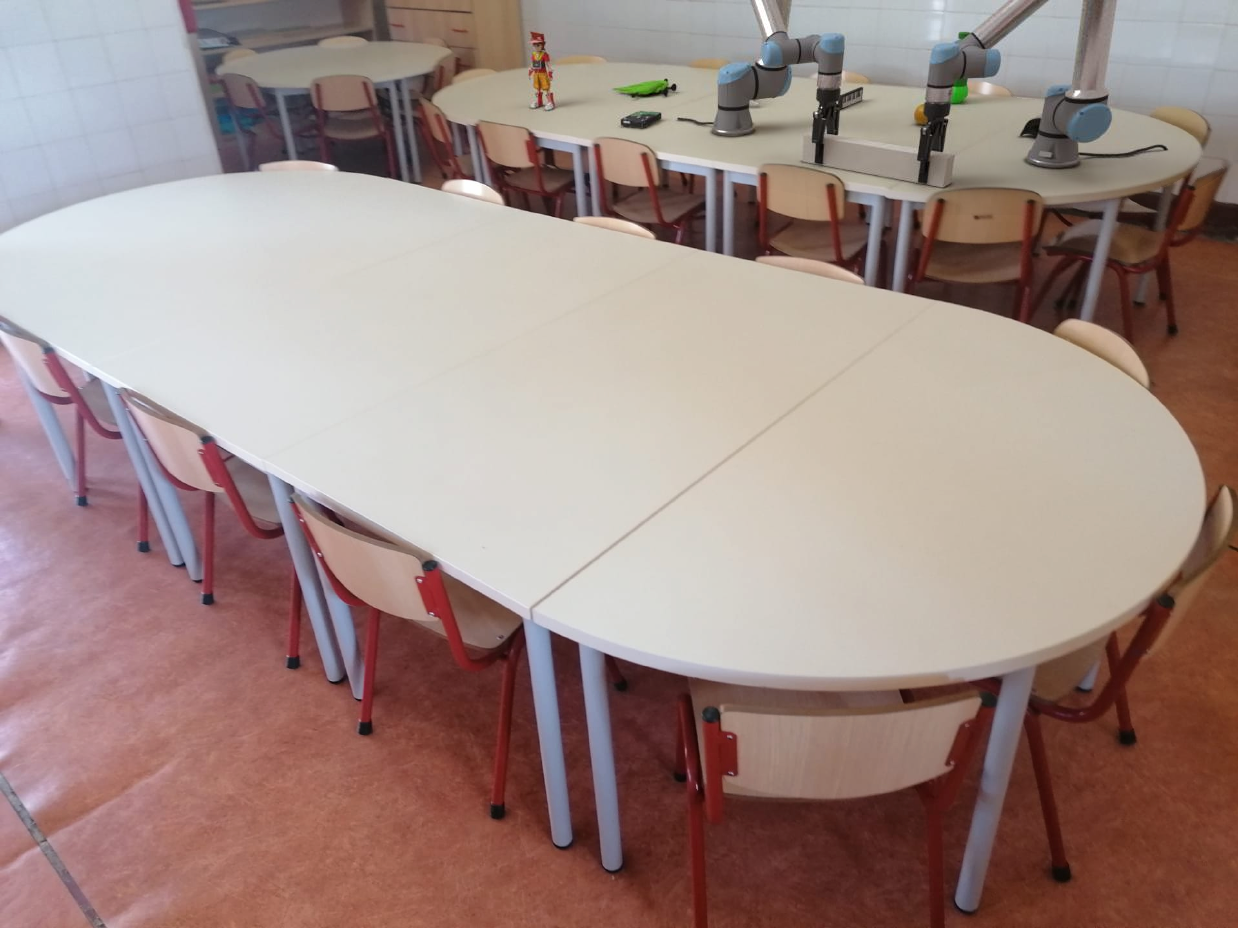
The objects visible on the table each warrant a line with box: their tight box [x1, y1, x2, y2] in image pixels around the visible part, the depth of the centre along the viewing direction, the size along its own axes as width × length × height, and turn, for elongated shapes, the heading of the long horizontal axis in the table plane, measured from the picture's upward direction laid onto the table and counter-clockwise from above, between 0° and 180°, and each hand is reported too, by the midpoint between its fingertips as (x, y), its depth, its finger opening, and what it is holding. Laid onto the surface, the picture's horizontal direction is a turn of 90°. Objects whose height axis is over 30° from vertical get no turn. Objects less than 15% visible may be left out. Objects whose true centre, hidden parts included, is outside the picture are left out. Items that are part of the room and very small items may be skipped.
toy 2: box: [612, 78, 677, 99], centre depth 396 cm, size 28×5×30 cm
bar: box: [801, 131, 956, 189], centre depth 286 cm, size 50×5×9 cm, turn 47°
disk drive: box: [620, 110, 663, 129], centre depth 352 cm, size 10×3×15 cm
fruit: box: [913, 103, 927, 126], centre depth 329 cm, size 8×8×8 cm
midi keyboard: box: [837, 86, 864, 110], centre depth 358 cm, size 18×1×5 cm, turn 138°
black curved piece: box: [1019, 113, 1042, 139], centre depth 316 cm, size 30×9×10 cm
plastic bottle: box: [950, 31, 971, 104], centre depth 348 cm, size 10×10×25 cm
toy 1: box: [527, 31, 556, 111], centre depth 374 cm, size 12×9×30 cm
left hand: (823, 161), depth 299 cm, fingers closed on bar, 5 cm apart
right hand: (926, 180), depth 277 cm, fingers closed on bar, 5 cm apart
